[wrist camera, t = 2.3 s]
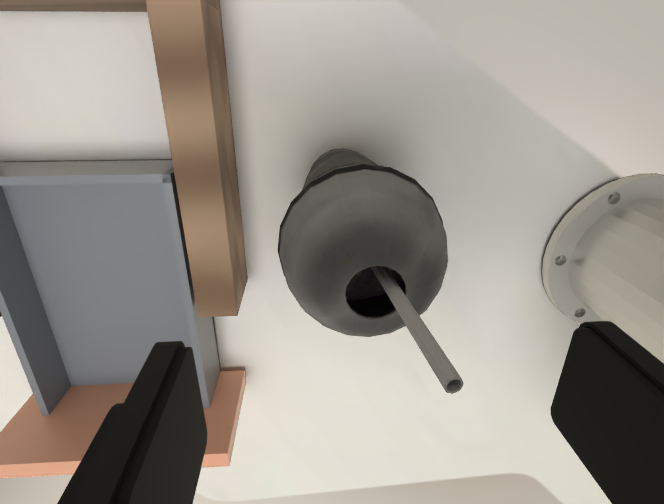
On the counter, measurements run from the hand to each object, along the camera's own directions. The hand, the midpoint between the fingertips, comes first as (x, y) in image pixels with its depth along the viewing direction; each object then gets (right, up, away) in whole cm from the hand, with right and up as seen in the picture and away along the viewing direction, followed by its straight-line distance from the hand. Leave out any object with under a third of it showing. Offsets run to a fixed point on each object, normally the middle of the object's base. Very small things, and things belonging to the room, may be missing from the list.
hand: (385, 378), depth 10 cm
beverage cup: (-1, +8, +18) cm, 20 cm away
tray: (-17, +1, +20) cm, 26 cm away
